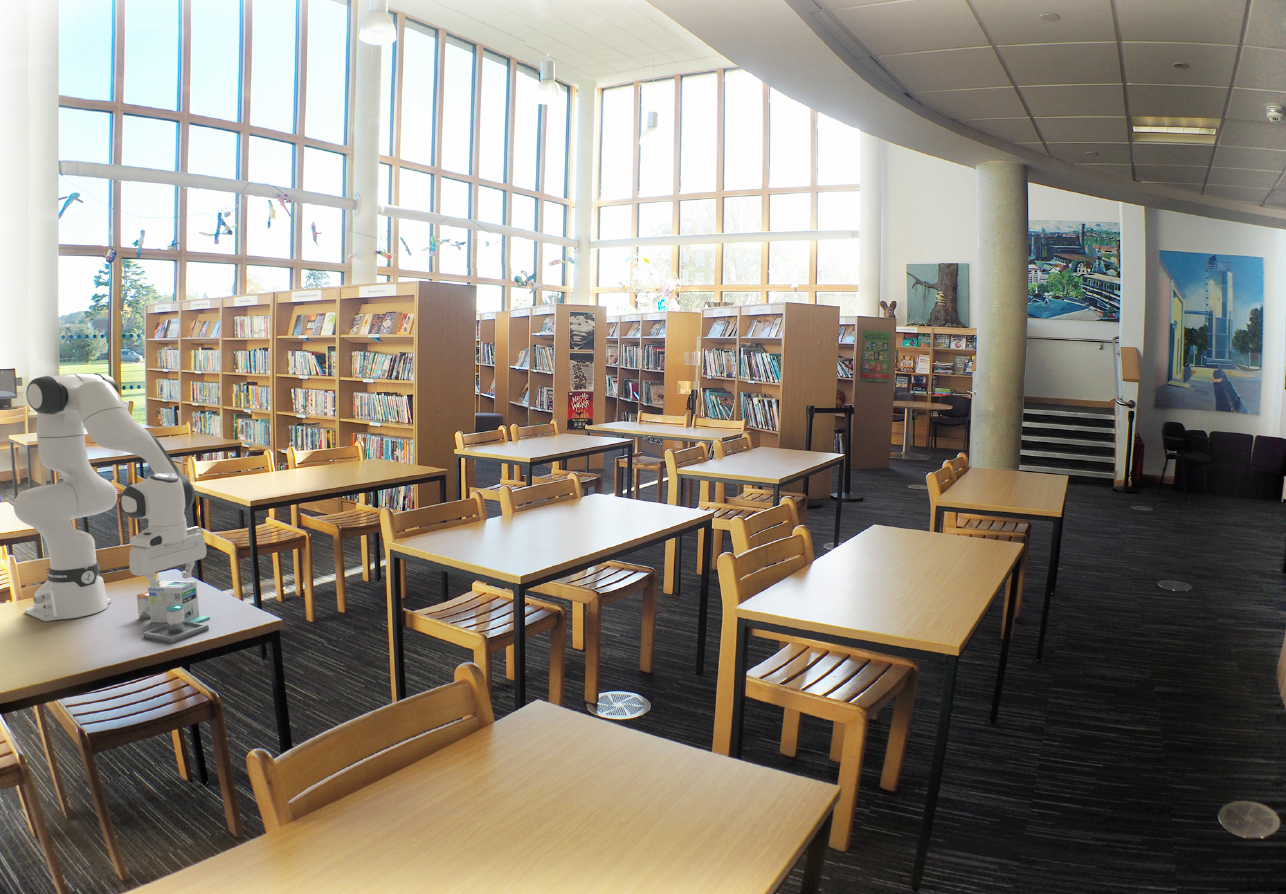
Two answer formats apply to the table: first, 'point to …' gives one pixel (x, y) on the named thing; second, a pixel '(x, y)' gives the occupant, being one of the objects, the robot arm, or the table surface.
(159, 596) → the light bulb box
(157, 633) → the tray
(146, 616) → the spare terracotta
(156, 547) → the robot arm
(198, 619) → the label tile
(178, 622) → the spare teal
